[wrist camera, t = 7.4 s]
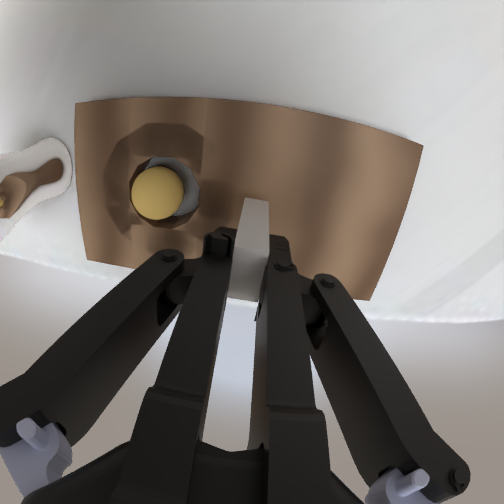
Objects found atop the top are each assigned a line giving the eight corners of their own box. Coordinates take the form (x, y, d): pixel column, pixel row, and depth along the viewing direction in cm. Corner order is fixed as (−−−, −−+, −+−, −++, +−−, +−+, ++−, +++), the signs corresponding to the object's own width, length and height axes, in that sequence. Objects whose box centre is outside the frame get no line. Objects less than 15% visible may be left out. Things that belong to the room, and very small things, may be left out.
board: (99, 246, 24) (87, 259, 22) (92, 101, 17) (75, 103, 15) (362, 284, 25) (369, 300, 23) (408, 140, 18) (423, 145, 16)
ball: (130, 182, 20) (113, 200, 17) (165, 150, 19) (152, 162, 16) (161, 215, 22) (150, 239, 19) (196, 187, 21) (191, 206, 18)
